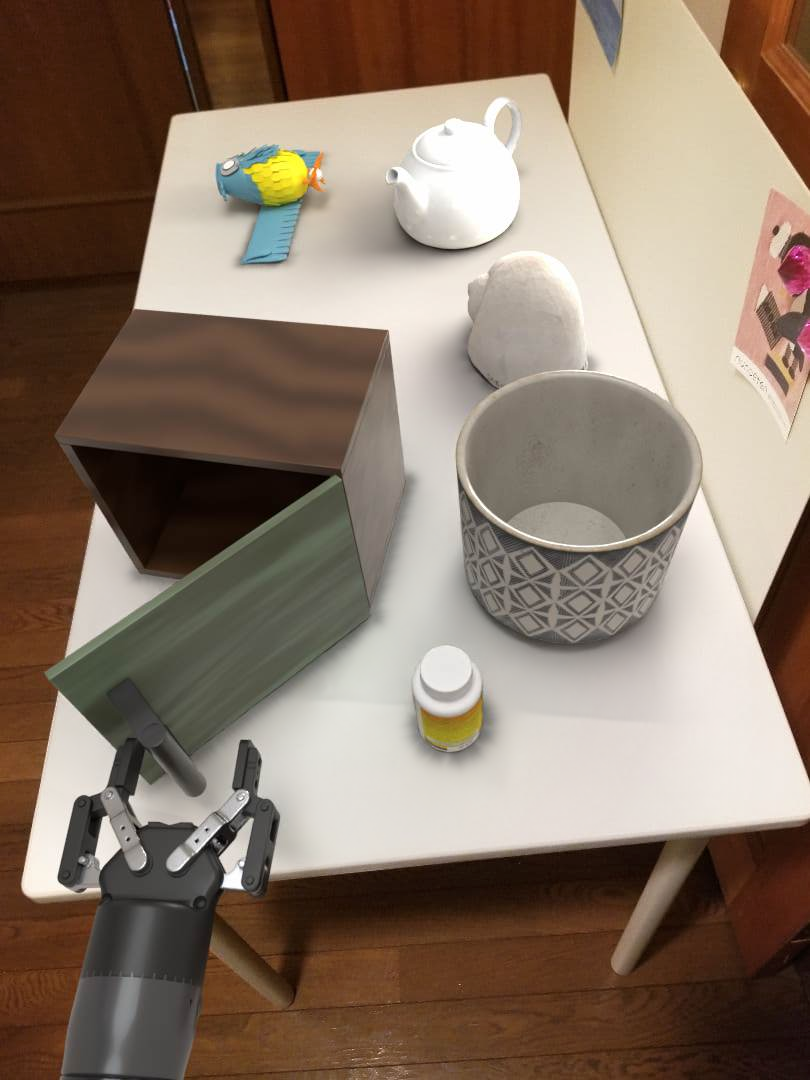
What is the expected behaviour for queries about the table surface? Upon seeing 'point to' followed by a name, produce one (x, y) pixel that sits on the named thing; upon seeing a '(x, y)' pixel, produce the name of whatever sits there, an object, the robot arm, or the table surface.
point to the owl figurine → (270, 194)
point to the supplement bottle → (448, 698)
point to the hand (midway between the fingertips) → (191, 742)
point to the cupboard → (235, 433)
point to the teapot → (458, 182)
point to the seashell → (525, 319)
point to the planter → (573, 501)
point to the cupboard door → (221, 637)
